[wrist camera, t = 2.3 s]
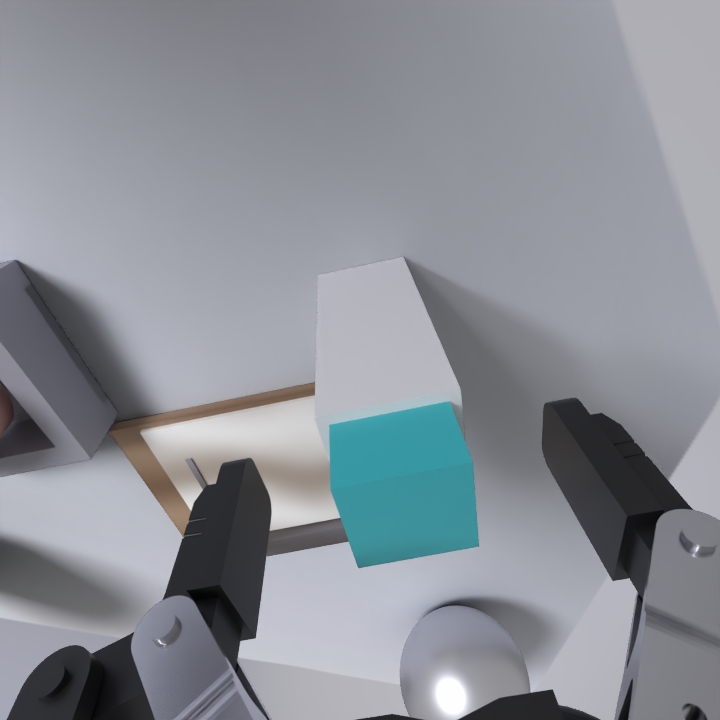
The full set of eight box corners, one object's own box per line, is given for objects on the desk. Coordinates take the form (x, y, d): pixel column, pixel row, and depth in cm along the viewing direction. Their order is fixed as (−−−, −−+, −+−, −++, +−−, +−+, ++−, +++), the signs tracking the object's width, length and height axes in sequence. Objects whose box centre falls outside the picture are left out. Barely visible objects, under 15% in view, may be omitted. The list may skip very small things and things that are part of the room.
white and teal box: (318, 274, 18) (312, 482, 9) (403, 256, 18) (486, 449, 9) (337, 346, 20) (348, 576, 11) (414, 331, 20) (491, 551, 11)
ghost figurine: (363, 624, 34) (375, 801, 26) (453, 567, 31) (501, 750, 23) (439, 653, 38) (472, 816, 30) (527, 606, 35) (592, 775, 26)
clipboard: (113, 423, 22) (101, 443, 20) (412, 362, 21) (417, 379, 20) (201, 550, 28) (195, 571, 27) (435, 506, 27) (440, 526, 26)
